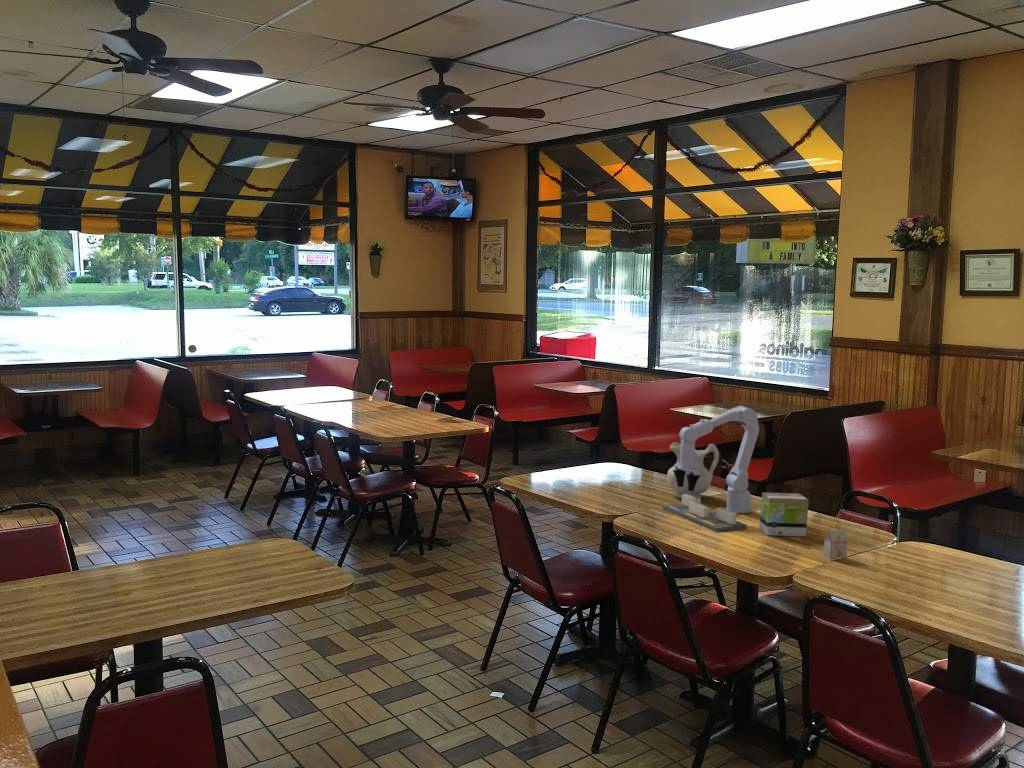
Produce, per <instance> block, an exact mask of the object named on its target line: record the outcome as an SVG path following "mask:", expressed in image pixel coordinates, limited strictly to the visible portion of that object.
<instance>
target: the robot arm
mask: <svg viewBox="0 0 1024 768" xmlns="http://www.w3.org/2000/svg"><path fill="white" fill-rule="evenodd" d="M758 418H759V416H758V414H757V413H756V411H755V410H754V409H753V408H749V407H746V406H744V405H738V406H736V407H732V408H731V409H729V410H726V411H725V412H723V413H720V414H719V415H717V416H715V417H713V418H712V419H706V418H704V419H703V418H702V419H699V421H698V422H696V423H694V424H689V426H685V427H682V428H681V429H680V431H679V432H678V436H679V438H680V443H681V448H680V464H679V463H677V462H676V463H677V464H676V463H674V465H675V468H676V470H673V472H674V474H675V476H676V480H677V485H678V487H683V484H684V477H685V474H686V472H689V473H690V474H686V476H687V480H688V490H689V491H694V488H695V485H696V482H697V480H698V479H699V477H700V475H699V470H697V469H696V468H695V467H694V452H695V449H696V448H695V446H696V444H695V443H696V441H697V440H698V439H699V438H700V437H702V436H706V435H707V434H710V433H711V432H713V430H714V428H716V427H718V426H721V425H724V424H726V423H728V422H731V421H732V422H738V423H740V424H741V426H742V427H743V428H744V433H743V437H742V440H741V443H740V446H739V450H738V454H737V457H736V460H735V462H734V466H733V467H732V468H731V469H730V471H729V474H727V476H725V477H726V478H725V483H726V485H727V486H728V487H727V491H726V493H727V494H726V495H727V496H726V507H725V509H727V510H730V511H732V512H733V513H736V514H737V515H739V513H741V514H749V513H752V512H753V511H752V510H751V509H752V508H751V507H752V494H751V492H750V491H749V490H748V488H749V473H748V469H749V466H750V462H751V459H752V455H753V453H754V449H755V445H756V442H757V439H758V436H759V432H760V425H759V420H758Z"/></svg>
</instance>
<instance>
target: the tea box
mask: <svg viewBox="0 0 1024 768" xmlns="http://www.w3.org/2000/svg"><path fill="white" fill-rule="evenodd" d="M760 501H761V503H760V511H759V512H760V514H759V530H760V531H761V532H762V533H764V535H765V536H767V535H769V536H782V537H785V536H786V537H801V536H805V537H806V535H807V527H808V513H809V501H810V500H809V499H808V498H806V497H805V496H804V495H802V494H801V493H795V492H794V493H793V492H792V493H791V492H790V493H789V492H788V493H787V492H762V493H761V500H760Z"/></svg>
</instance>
